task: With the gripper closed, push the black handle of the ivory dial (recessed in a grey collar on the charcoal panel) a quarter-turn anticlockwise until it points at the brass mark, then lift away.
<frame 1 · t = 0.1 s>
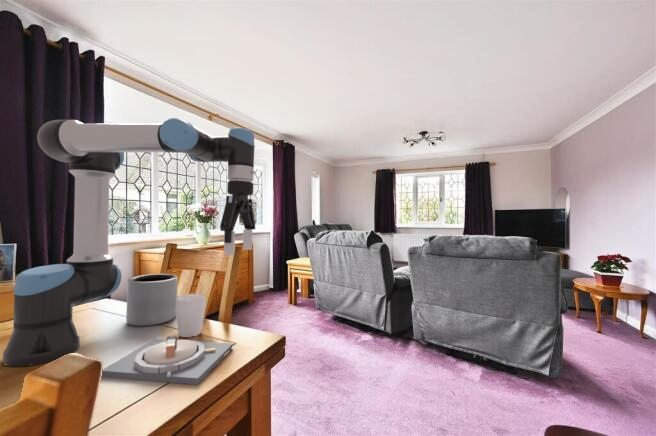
hand: (238, 252, 89), 28 cm above the table, fingers open, 13 cm apart
planter: (152, 320, 109), on the table
panel: (173, 361, 78), on the table
dial: (171, 347, 77), point 4 cm above the table, hinge at 0.0°
cup: (190, 334, 97), on the table
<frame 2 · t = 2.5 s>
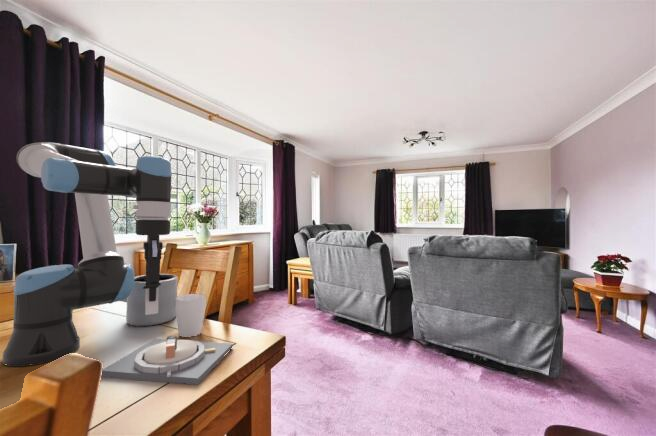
hand: (151, 313, 75), 14 cm above the table, fingers closed
nothing on the table moved.
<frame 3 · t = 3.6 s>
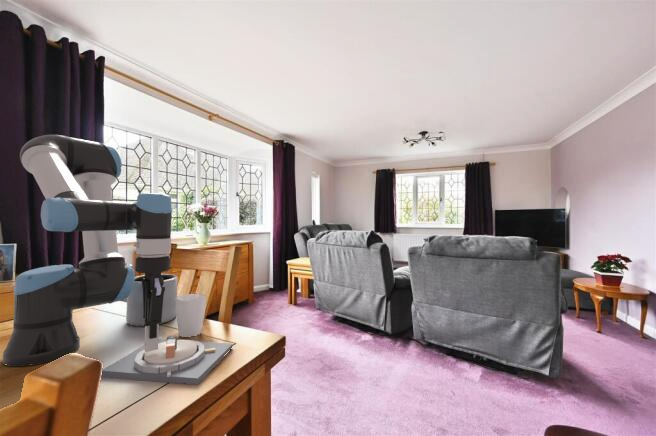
hand: (151, 349, 74), 5 cm above the table, fingers closed
nothing on the table moved.
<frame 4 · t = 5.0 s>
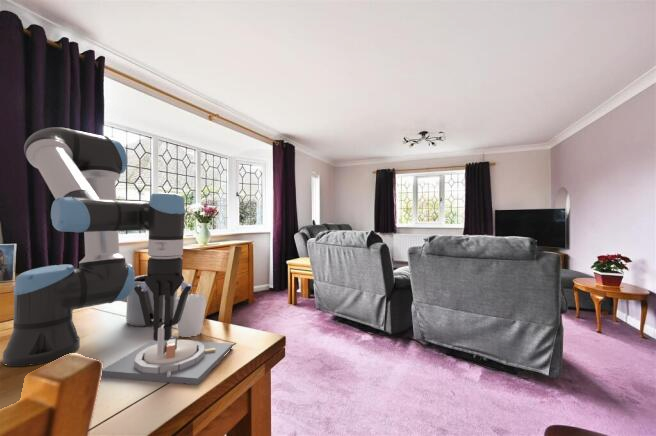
hand: (162, 353, 73), 5 cm above the table, fingers closed
dial: (171, 347, 77), point 4 cm above the table, hinge at 1.0°, touching gripper
everything else where it was.
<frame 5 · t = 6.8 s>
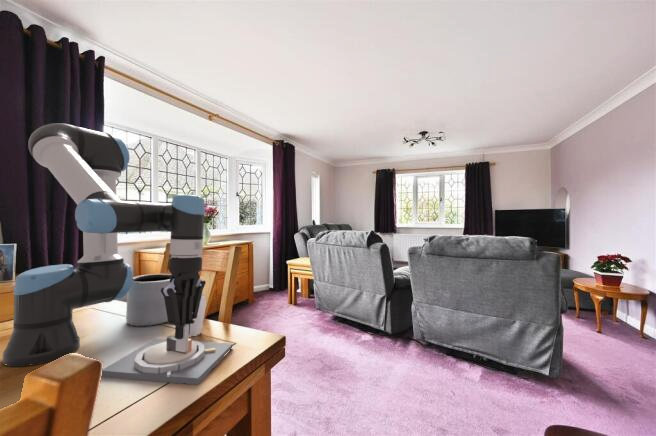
hand: (181, 350, 75), 5 cm above the table, fingers closed
dial: (171, 347, 77), point 4 cm above the table, hinge at 47.6°, touching gripper
everything else where it was.
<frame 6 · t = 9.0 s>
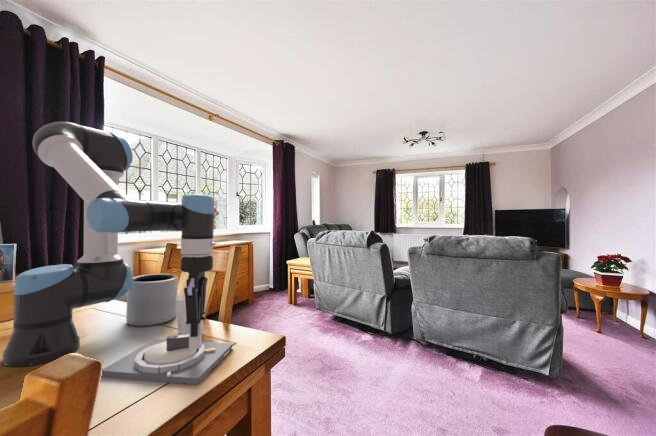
hand: (195, 347, 76), 5 cm above the table, fingers closed
dial: (171, 347, 77), point 4 cm above the table, hinge at 90.7°
everything else where it was.
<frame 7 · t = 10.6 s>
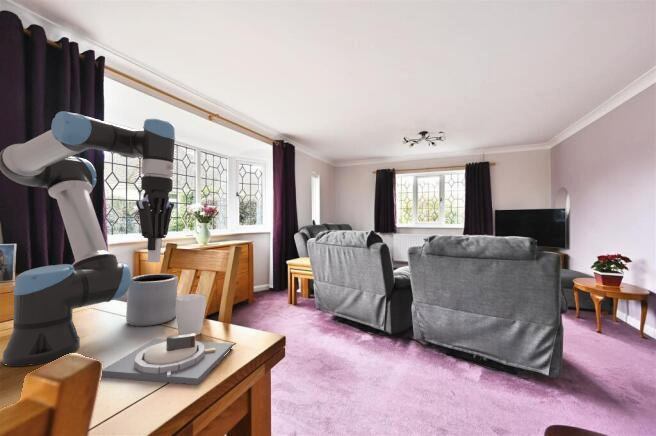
hand: (153, 261, 83), 25 cm above the table, fingers closed
nothing on the table moved.
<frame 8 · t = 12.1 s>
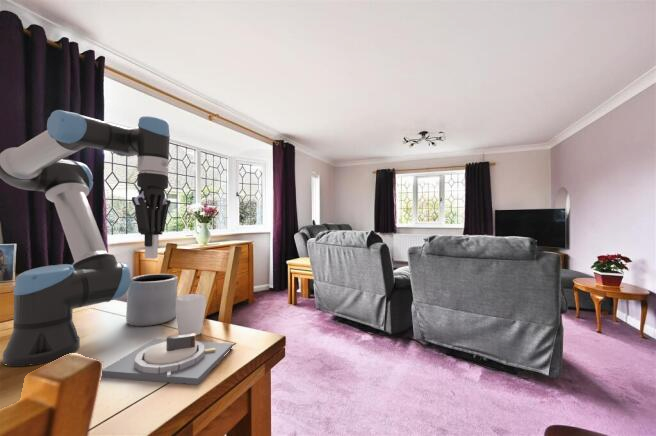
hand: (151, 257, 83), 26 cm above the table, fingers closed
nothing on the table moved.
at the end: dial at +91° (first picture: +0°); cup moved 0.2 cm from its start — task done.
